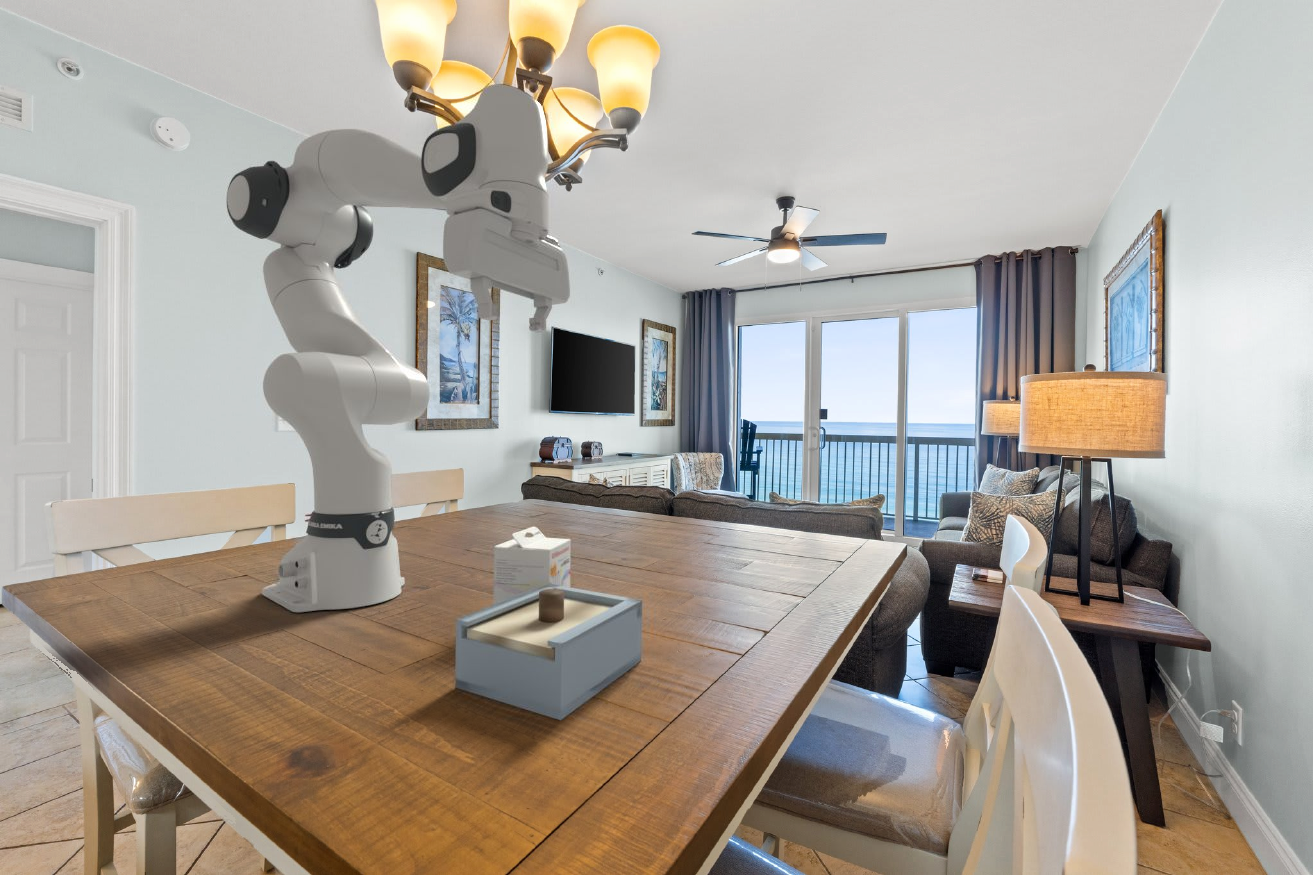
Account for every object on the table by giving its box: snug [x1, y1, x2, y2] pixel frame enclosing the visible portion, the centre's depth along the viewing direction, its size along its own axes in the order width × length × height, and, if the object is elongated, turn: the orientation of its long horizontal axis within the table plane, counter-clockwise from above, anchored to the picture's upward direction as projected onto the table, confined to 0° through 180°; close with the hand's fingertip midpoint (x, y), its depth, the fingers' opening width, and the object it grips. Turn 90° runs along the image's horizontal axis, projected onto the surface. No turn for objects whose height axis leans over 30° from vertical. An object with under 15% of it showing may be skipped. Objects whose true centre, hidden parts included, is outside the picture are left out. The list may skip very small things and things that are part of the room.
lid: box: [467, 589, 612, 659], centre depth 64 cm, size 12×14×4 cm
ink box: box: [493, 526, 572, 605], centre depth 81 cm, size 9×8×13 cm
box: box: [454, 584, 643, 721], centre depth 65 cm, size 14×16×7 cm
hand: (514, 325), depth 73 cm, fingers open, 8 cm apart
